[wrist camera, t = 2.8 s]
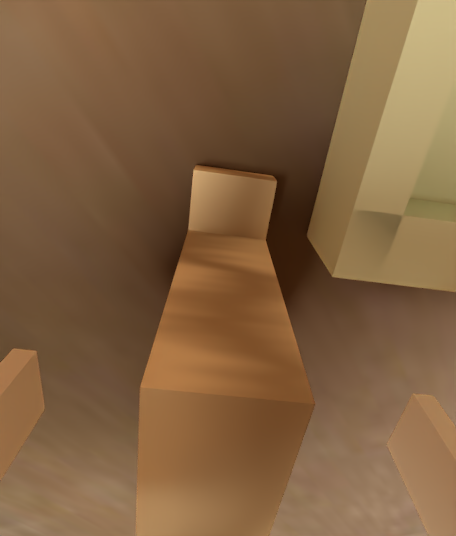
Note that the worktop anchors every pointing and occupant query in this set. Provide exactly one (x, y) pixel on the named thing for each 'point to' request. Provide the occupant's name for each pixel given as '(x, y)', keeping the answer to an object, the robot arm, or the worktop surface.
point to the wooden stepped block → (221, 374)
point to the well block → (394, 152)
